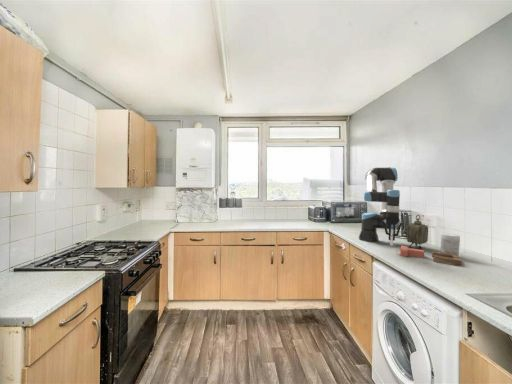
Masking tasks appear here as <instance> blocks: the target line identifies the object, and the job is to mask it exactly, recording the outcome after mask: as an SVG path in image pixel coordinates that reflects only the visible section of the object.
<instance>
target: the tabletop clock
mask: <svg viewBox="0 0 512 384" xmlns="http://www.w3.org/2000/svg"><path fill="white" fill-rule="evenodd" d="M418 216H419V218H418ZM420 219H421V215H420V214H417V215H416V216H415V220H414V221H413V222H411V223H409V224H408V225H407V226H406V227H407V229H406V242H408V243H411V244H410V245H408V248H411V249H412V245H415V246H417V245H418V248H419V249H422V246H421V245H422V244H426V243H427V242H428V239H429V226H428V225H426V224H423V223H422V221H421V220H420Z"/></svg>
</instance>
